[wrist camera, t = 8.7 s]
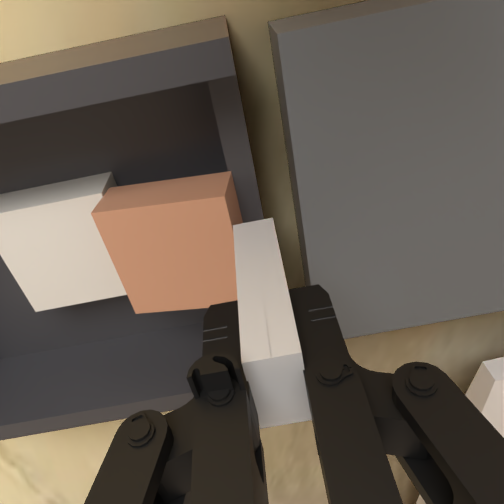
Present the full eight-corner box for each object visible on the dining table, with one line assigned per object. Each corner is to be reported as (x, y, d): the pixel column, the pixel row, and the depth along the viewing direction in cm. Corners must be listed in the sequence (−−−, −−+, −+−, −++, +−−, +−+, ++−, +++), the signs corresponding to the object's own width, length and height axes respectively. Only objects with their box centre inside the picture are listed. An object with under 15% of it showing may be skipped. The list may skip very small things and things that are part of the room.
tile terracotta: (109, 187, 18) (90, 213, 16) (231, 171, 17) (224, 196, 15) (148, 283, 20) (135, 313, 19) (254, 273, 20) (250, 304, 18)
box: (-213, 108, 17) (-352, 159, 13) (225, 15, 16) (228, 36, 12) (-11, 368, 25) (-55, 449, 21) (282, 315, 24) (296, 388, 20)
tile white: (-2, 194, 19) (-23, 217, 17) (111, 171, 19) (101, 192, 17) (49, 284, 22) (35, 312, 20) (148, 265, 21) (143, 291, 20)
